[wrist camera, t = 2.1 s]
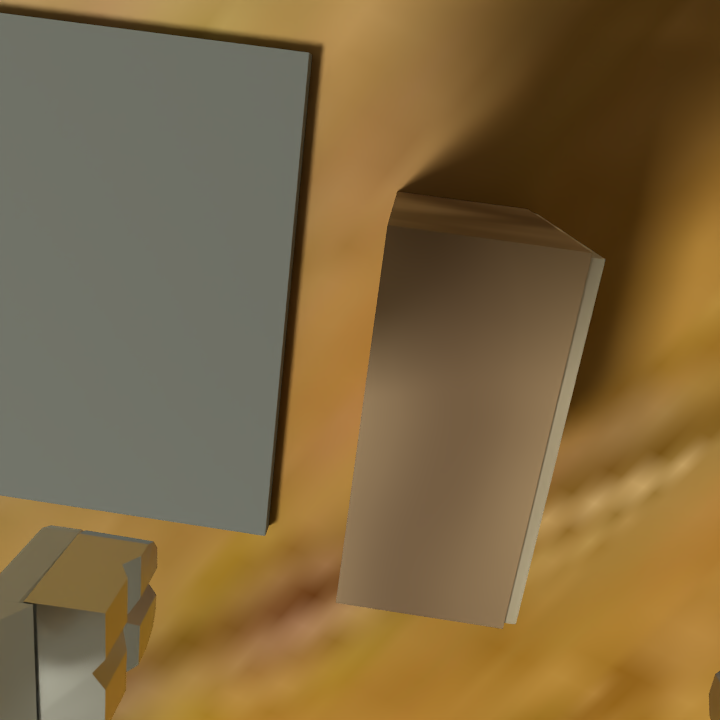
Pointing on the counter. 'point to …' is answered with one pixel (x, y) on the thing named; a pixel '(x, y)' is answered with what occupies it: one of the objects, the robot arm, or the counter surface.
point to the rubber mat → (145, 268)
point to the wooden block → (463, 407)
